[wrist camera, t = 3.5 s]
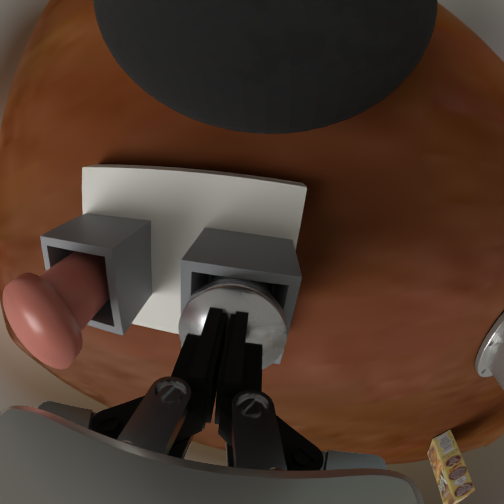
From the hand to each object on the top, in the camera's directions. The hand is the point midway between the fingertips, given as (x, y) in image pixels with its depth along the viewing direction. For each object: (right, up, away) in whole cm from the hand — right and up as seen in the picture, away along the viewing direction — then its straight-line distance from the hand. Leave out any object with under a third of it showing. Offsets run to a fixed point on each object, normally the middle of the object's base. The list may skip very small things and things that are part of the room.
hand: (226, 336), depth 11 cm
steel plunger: (0, +2, +6) cm, 6 cm away
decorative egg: (+2, +17, +3) cm, 17 cm away
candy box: (+36, -32, +20) cm, 52 cm away
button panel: (-4, +4, +8) cm, 9 cm away
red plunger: (-9, +2, +3) cm, 9 cm away
